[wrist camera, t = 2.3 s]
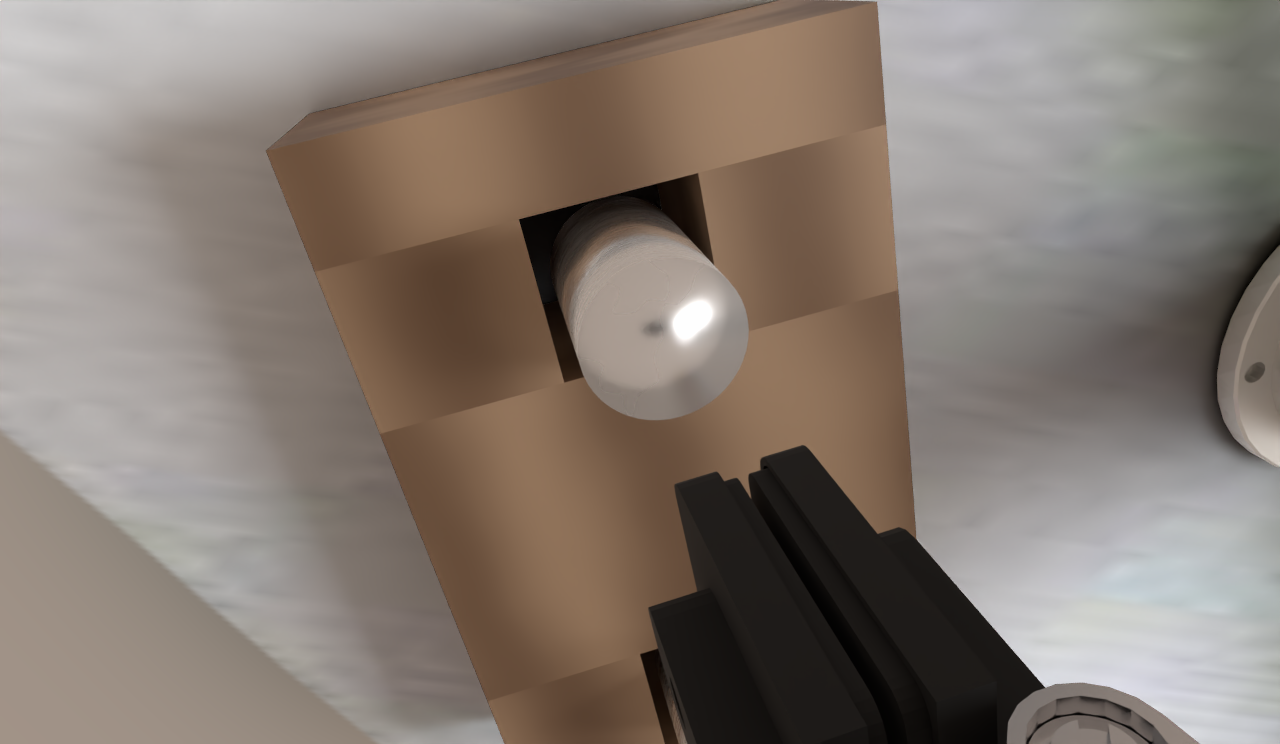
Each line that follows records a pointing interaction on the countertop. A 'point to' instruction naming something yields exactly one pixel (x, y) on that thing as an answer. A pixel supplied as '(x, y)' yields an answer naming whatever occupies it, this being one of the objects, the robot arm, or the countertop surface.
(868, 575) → the robot arm
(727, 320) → the front peg
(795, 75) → the walnut block
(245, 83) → the countertop surface
